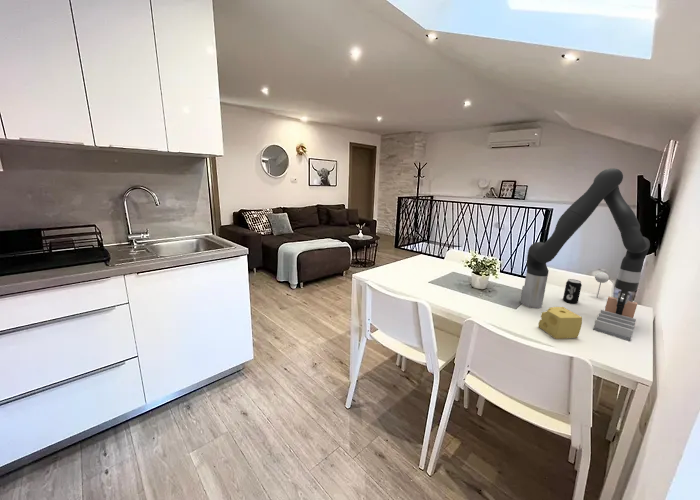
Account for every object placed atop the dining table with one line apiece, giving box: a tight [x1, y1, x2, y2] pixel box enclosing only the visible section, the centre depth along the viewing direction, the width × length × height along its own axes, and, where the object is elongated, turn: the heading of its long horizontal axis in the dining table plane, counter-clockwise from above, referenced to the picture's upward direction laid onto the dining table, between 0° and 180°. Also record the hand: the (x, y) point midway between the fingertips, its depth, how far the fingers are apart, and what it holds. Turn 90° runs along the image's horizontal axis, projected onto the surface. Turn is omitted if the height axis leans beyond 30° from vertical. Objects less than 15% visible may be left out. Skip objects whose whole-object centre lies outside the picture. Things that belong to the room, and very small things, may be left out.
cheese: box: [538, 306, 583, 340], centre depth 123 cm, size 10×11×10 cm
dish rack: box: [592, 309, 637, 342], centre depth 127 cm, size 17×12×4 cm
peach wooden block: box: [604, 295, 638, 318], centre depth 135 cm, size 2×10×10 cm, turn 42°
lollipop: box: [594, 271, 610, 299], centre depth 159 cm, size 6×6×15 cm
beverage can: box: [562, 278, 583, 305], centre depth 154 cm, size 7×7×12 cm
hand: (618, 313), depth 135 cm, fingers closed on peach wooden block, 2 cm apart
